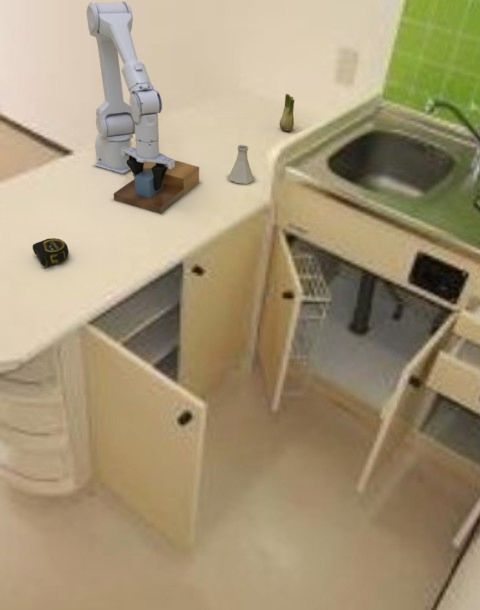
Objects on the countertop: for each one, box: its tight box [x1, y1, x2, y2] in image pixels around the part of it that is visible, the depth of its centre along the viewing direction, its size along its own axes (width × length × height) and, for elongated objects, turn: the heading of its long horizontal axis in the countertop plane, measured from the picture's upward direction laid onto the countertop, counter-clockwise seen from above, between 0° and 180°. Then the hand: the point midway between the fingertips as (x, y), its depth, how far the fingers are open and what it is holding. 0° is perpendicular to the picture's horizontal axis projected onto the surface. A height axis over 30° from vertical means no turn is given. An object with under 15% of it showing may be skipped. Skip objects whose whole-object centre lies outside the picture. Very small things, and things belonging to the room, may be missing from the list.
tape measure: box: [32, 237, 70, 267], centre depth 144 cm, size 7×7×4 cm
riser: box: [113, 159, 200, 215], centre depth 175 cm, size 14×21×5 cm, turn 161°
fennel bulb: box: [279, 93, 295, 132], centre depth 219 cm, size 6×5×12 cm
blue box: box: [134, 168, 163, 198], centre depth 170 cm, size 4×6×5 cm
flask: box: [228, 144, 254, 185], centre depth 186 cm, size 7×7×10 cm
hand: (149, 186), depth 171 cm, fingers open, 5 cm apart
